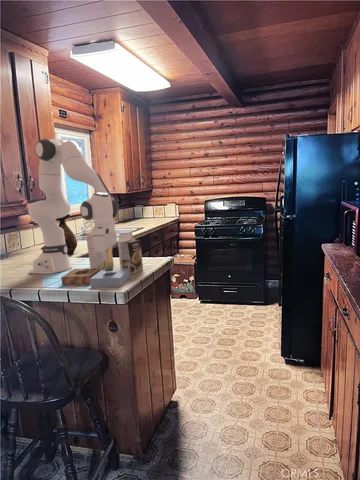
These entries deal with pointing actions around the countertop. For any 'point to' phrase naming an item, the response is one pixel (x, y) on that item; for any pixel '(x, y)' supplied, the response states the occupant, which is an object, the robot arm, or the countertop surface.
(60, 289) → the countertop surface
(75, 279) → the block
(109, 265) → the brass peg
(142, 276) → the countertop surface
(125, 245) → the coffee box
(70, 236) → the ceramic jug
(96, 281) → the socket block
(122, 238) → the milk carton
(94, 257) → the cracker box
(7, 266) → the countertop surface
